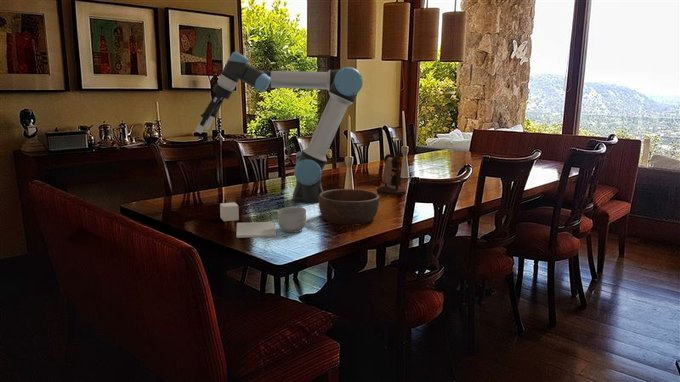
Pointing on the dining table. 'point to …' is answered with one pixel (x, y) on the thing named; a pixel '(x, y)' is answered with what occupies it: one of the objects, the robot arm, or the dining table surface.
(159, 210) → the dining table surface
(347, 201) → the wooden bowl
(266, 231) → the mat
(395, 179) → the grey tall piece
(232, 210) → the cream block
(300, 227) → the teacup
